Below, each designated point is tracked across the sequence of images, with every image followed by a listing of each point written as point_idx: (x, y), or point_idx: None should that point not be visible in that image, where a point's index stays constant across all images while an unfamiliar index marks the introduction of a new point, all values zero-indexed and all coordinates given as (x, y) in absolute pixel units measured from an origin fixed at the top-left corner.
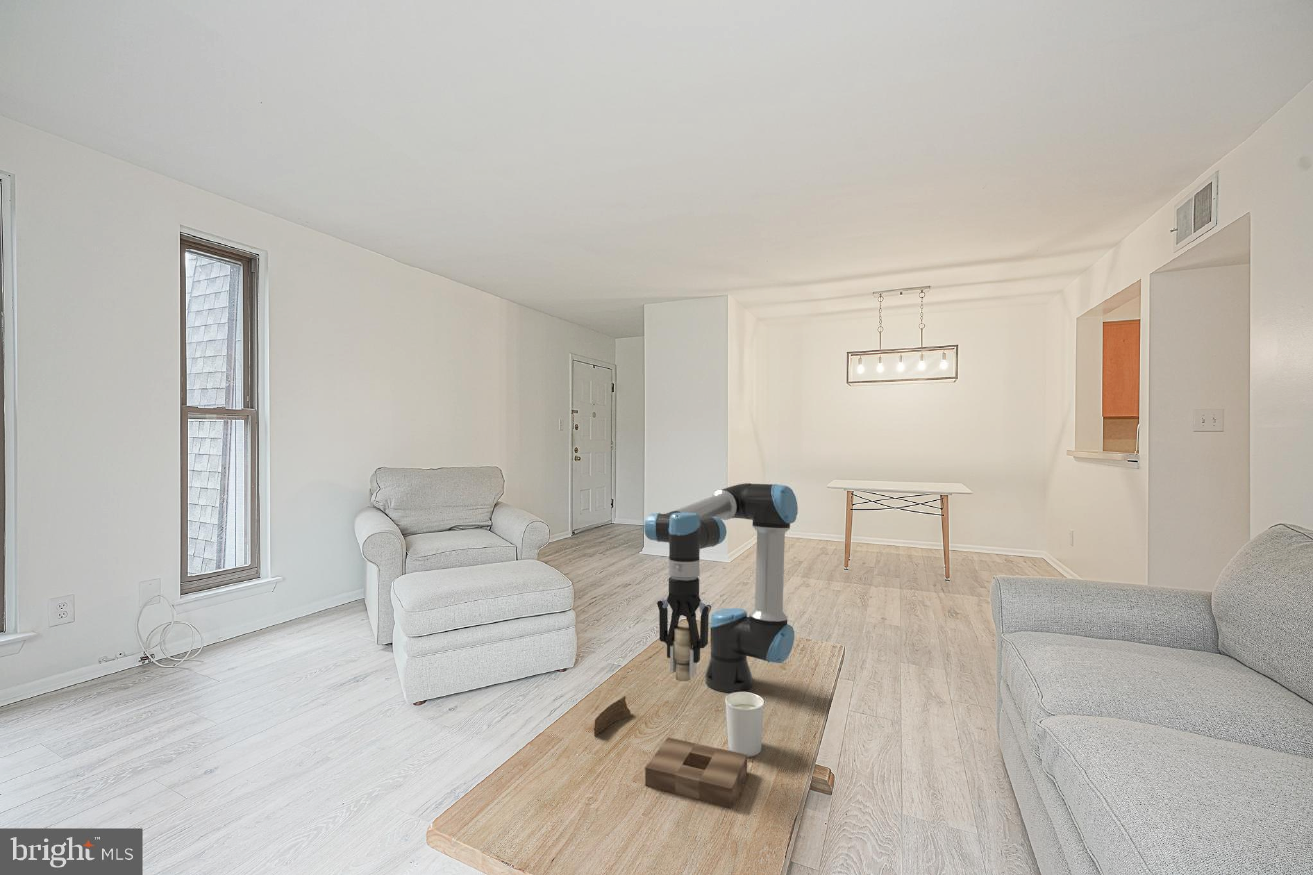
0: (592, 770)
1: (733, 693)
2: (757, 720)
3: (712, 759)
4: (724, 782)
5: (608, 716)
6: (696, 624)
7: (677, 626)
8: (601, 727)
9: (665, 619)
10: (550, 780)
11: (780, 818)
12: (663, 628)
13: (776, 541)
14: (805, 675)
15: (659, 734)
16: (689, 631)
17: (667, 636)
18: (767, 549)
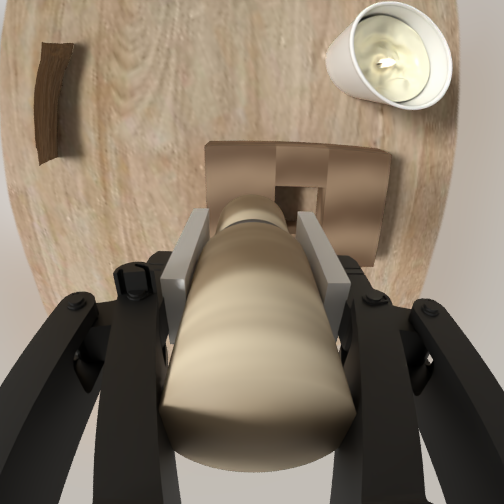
0: (115, 247)
1: (364, 13)
2: (425, 91)
3: (328, 194)
4: (360, 255)
5: (46, 107)
6: (413, 444)
7: (165, 415)
8: (52, 131)
9: (48, 466)
10: (86, 288)
11: (425, 247)
12: (82, 425)
13: None
14: None
15: (161, 80)
16: (331, 446)
17: (103, 334)
18: None
